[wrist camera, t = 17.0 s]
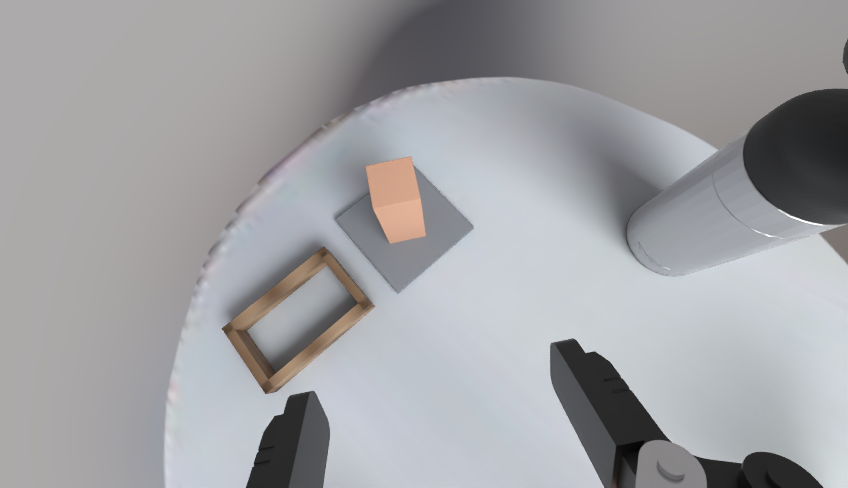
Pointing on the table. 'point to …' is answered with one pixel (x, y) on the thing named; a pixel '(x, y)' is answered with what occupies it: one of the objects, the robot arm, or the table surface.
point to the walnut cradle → (274, 297)
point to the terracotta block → (396, 199)
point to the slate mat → (411, 255)
